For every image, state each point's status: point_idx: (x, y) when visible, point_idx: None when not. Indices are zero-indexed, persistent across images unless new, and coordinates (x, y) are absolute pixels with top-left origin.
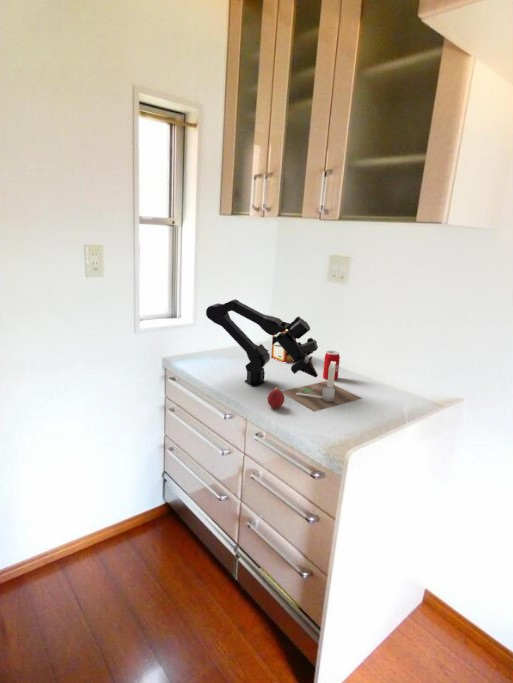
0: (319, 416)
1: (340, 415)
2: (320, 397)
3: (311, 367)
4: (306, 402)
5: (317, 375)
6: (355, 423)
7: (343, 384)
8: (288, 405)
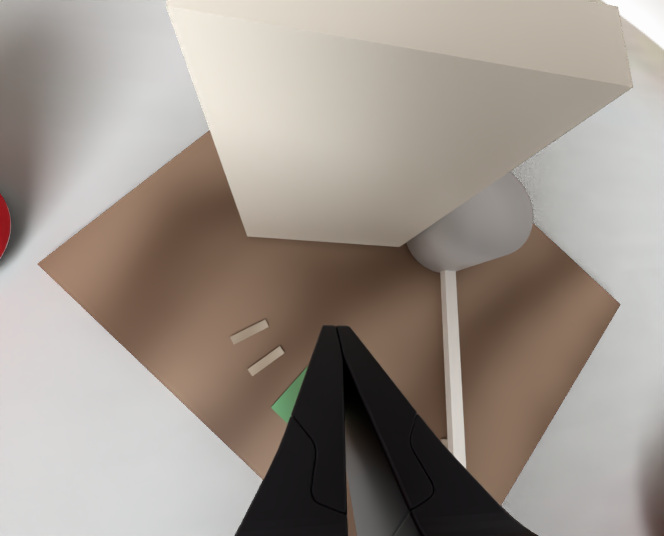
0: (629, 271)
1: (570, 170)
2: (453, 281)
3: (454, 459)
4: (530, 367)
5: (345, 326)
6: (613, 109)
7: (62, 132)
8: (589, 477)
